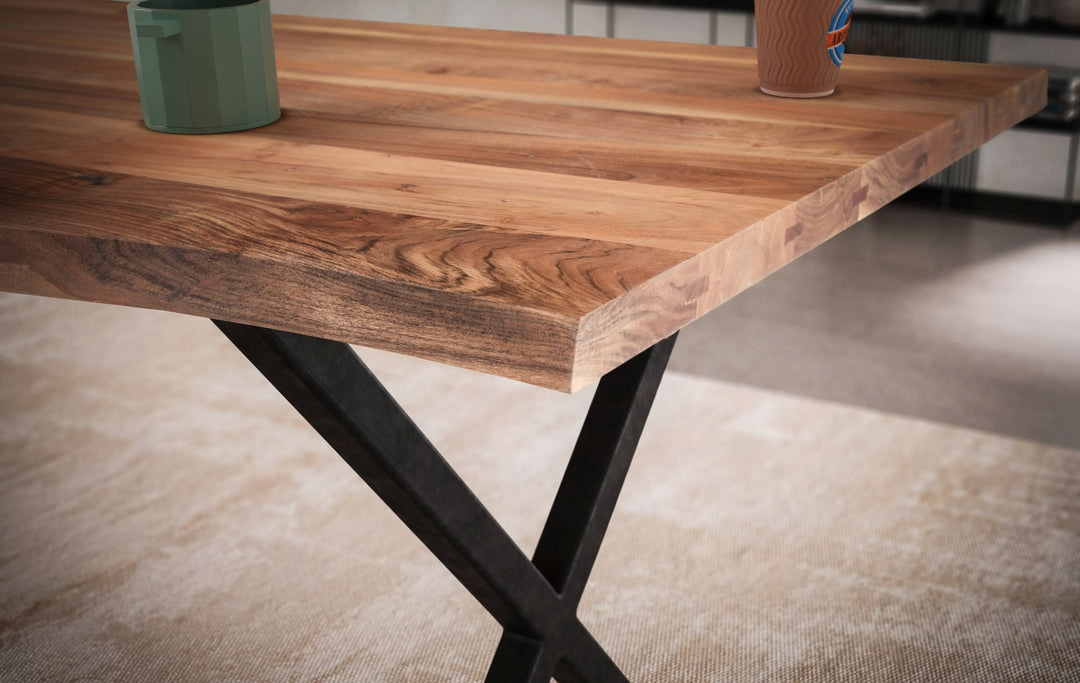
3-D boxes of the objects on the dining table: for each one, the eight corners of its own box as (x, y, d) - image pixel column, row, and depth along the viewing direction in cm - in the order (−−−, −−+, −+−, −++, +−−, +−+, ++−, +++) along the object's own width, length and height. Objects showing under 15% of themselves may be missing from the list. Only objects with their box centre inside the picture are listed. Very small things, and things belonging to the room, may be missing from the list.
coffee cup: (848, 104, 106) (862, -35, 101) (734, 98, 108) (742, -37, 104) (855, 83, 115) (868, -45, 110) (750, 78, 117) (758, -47, 113)
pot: (101, 138, 96) (81, 13, 92) (199, 97, 111) (185, -11, 107) (230, 144, 94) (216, 16, 90) (312, 101, 109) (303, -10, 105)
